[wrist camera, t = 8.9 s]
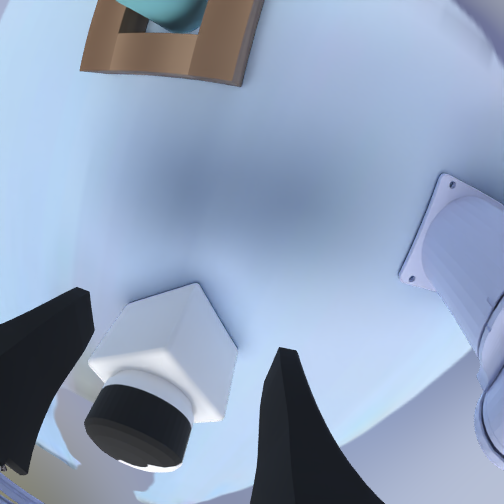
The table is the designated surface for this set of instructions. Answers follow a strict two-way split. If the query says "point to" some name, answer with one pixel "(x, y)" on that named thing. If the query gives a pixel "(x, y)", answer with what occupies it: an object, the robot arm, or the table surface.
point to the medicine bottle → (160, 378)
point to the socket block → (173, 43)
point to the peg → (170, 13)
